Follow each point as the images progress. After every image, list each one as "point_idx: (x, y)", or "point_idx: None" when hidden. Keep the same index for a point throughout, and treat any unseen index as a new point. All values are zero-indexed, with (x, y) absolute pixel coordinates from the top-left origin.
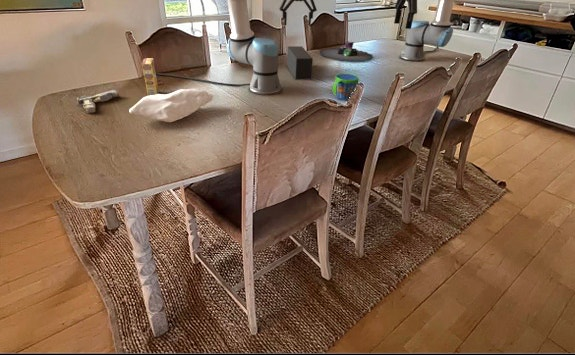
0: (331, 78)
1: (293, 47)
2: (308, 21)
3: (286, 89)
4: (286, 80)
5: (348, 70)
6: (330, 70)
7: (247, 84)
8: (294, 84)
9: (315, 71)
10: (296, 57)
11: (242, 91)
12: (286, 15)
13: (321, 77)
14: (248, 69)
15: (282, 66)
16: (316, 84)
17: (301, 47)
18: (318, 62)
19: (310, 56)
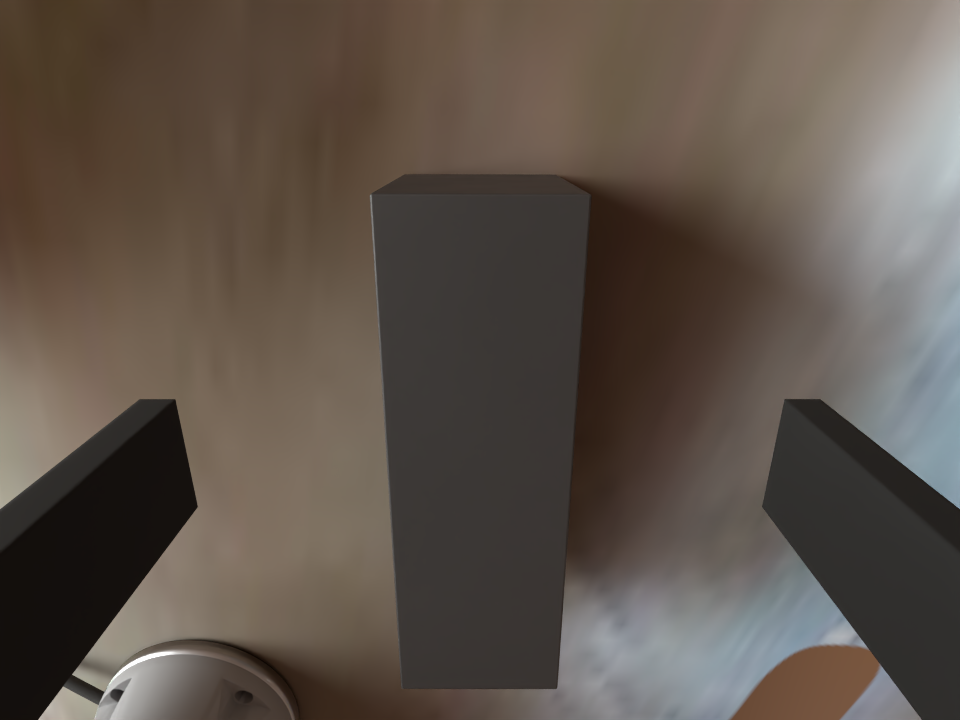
0: (696, 551)
1: (448, 262)
2: (824, 454)
3: (334, 706)
4: (351, 571)
5: (950, 373)
6: (784, 364)
7: (80, 692)
8: (396, 640)
9: (635, 384)
10: (407, 660)
11: (73, 716)
12: (41, 705)
13: (629, 528)
14: (23, 293)
15: (354, 210)
16: None
17: (563, 265)
18: (792, 65)
19: (555, 636)
